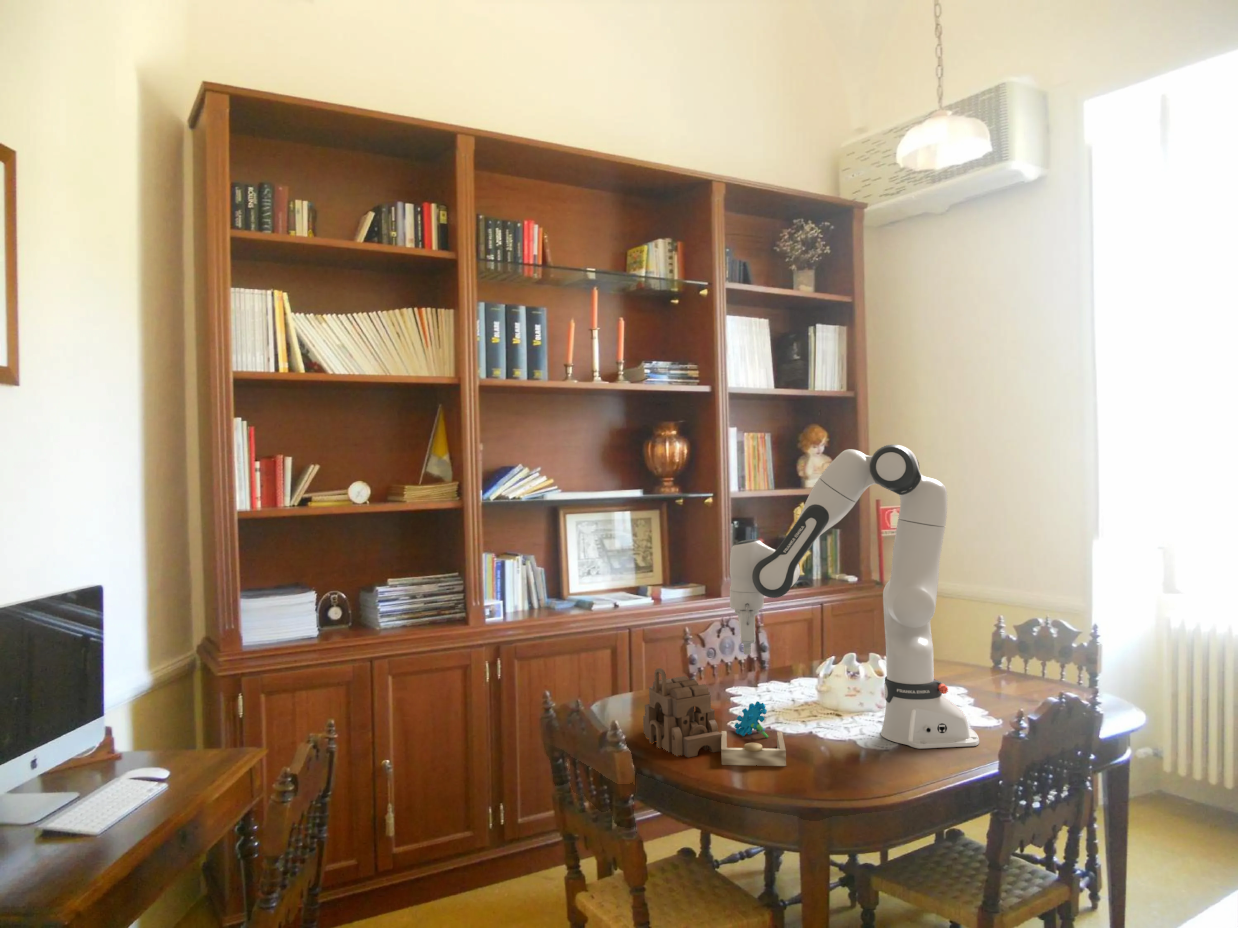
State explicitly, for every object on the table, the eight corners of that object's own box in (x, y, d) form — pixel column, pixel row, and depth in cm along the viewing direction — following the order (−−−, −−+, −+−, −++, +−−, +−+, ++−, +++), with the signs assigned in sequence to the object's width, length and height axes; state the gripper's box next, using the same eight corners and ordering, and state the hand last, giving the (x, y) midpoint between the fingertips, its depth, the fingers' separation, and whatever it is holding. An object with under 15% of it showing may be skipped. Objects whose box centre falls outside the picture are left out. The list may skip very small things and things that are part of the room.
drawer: (782, 746, 209) (781, 728, 209) (786, 768, 194) (786, 748, 194) (721, 745, 210) (721, 727, 210) (721, 766, 196) (721, 747, 196)
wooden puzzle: (729, 749, 208) (728, 671, 207) (676, 760, 201) (674, 680, 201) (684, 724, 227) (682, 653, 227) (634, 733, 221) (632, 660, 221)
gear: (728, 721, 224) (755, 693, 224) (743, 735, 225) (770, 707, 225) (741, 741, 213) (769, 711, 213) (757, 755, 214) (785, 726, 214)
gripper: (760, 608, 219) (760, 662, 219) (757, 594, 239) (757, 644, 239) (735, 607, 219) (735, 662, 219) (734, 594, 240) (734, 644, 240)
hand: (747, 653), depth 229 cm, fingers closed
